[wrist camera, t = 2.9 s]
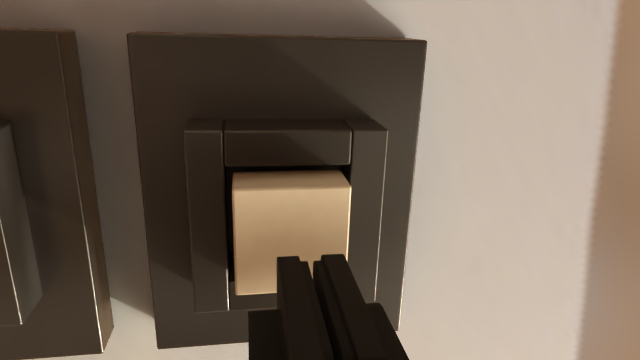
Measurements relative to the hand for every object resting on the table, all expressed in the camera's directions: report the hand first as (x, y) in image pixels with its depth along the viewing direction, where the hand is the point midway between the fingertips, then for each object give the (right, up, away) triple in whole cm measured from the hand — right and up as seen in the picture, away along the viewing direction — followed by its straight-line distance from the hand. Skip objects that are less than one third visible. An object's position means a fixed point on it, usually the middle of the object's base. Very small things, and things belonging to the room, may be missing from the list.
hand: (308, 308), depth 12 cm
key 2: (-1, +2, +4) cm, 5 cm away
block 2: (-1, +3, +7) cm, 8 cm away
